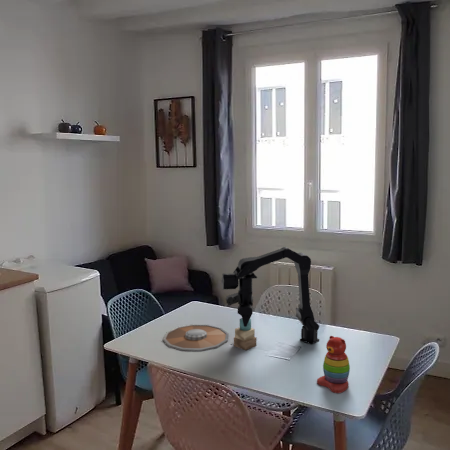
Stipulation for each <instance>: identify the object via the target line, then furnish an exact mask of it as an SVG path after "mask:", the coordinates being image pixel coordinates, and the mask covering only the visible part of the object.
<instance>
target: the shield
mask: <svg viewBox="0 0 450 450" xmlns="http://www.w3.org/2000/svg"><path fill="white" fill-rule="evenodd" d="M228 340H229V333H228V332H227V331H226V330H224V329H223V328H222V327H218V326H214V325H210V324H185V325H180V326H177V327H173V329H170V330H168V331H166V332H165V334H164V336H163V338H162V341H163V342H164V344H166V346H168V348H172V349H176V350H179V351H182V352H204V351H209V350H213V349H218V348H220V347H222V346H223V345H225V344H226V343H228Z"/></svg>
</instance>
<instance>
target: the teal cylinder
mask: <svg viewBox="0 0 450 450" xmlns="http://www.w3.org/2000/svg"><path fill="white" fill-rule="evenodd" d="M239 327H240V330H243V331H248V330H251V328H252V319H251V318H250V320H249V322H248V324H247V327H244V324H243V319H242V317H241V318H239Z"/></svg>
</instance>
